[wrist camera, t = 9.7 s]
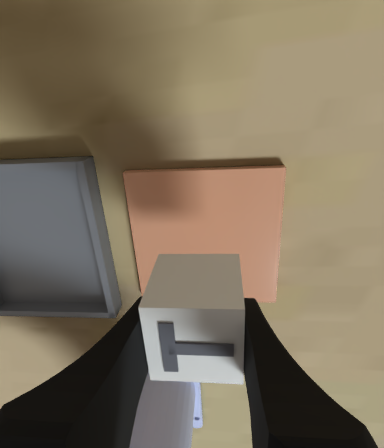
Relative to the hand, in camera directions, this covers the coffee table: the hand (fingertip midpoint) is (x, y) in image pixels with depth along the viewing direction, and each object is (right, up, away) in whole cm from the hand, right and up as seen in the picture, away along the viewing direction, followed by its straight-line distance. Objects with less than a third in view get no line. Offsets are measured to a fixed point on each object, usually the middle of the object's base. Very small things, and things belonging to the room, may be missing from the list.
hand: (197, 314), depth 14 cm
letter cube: (0, +1, +2) cm, 2 cm away
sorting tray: (-16, +3, +9) cm, 19 cm away
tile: (+1, +3, +7) cm, 8 cm away
